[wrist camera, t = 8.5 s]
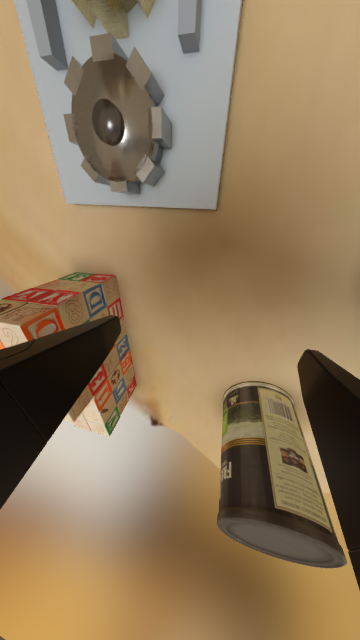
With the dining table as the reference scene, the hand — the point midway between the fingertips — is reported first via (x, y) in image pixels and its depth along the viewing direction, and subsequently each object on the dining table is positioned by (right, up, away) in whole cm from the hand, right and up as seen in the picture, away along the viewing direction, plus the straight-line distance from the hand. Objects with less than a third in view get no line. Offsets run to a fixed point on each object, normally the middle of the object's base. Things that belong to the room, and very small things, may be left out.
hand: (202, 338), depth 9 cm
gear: (-5, +15, +5) cm, 17 cm away
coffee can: (+11, -12, +19) cm, 25 cm away
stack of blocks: (-12, -2, +20) cm, 23 cm away
